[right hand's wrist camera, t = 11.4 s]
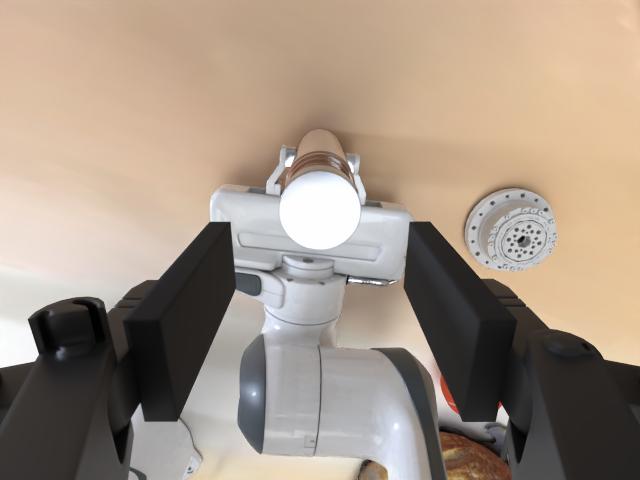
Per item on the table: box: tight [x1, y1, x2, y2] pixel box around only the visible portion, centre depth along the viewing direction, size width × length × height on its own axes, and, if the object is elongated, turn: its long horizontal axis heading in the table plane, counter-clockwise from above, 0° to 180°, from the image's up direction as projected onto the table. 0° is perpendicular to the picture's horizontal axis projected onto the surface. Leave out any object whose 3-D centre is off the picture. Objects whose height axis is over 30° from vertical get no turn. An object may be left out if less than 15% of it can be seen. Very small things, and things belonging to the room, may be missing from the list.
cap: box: [279, 165, 361, 250], centre depth 20 cm, size 4×4×2 cm
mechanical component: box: [464, 188, 558, 272], centre depth 43 cm, size 10×4×10 cm
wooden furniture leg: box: [285, 129, 355, 186], centre depth 31 cm, size 5×5×24 cm
